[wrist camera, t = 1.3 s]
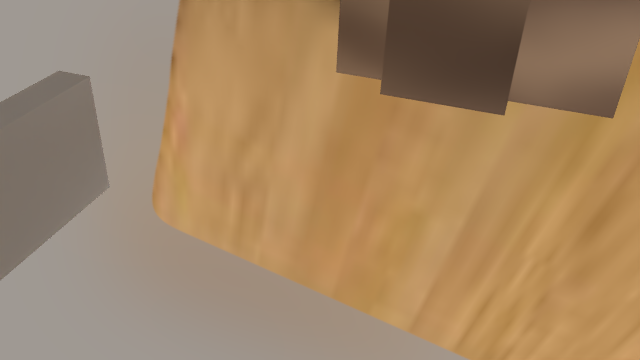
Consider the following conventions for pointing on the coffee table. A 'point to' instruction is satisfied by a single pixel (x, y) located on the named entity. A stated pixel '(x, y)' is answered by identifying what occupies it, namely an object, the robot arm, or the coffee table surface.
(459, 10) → the cover
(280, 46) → the coffee table surface
